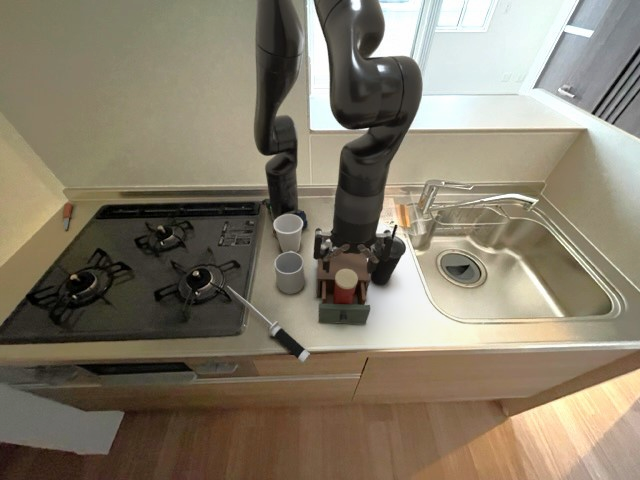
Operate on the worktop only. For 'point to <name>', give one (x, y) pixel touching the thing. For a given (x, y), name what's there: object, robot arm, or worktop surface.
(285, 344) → the knife
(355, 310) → the drawer
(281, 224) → the dixie cup
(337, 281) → the tin
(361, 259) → the cabinet
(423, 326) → the worktop surface
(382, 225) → the white cube
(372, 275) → the drinking cup
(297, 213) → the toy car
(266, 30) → the robot arm
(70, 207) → the kitchen knife
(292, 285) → the cup
